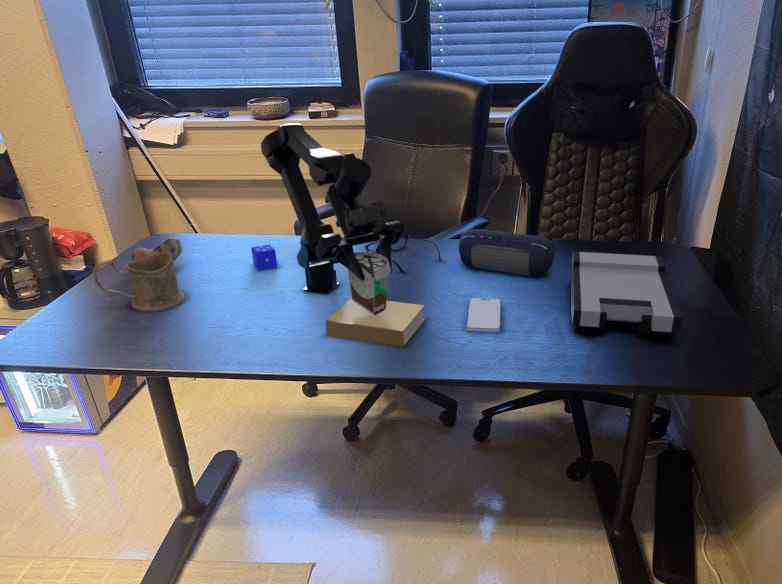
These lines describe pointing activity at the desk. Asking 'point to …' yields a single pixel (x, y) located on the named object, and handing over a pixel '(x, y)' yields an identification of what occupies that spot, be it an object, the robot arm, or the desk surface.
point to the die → (264, 257)
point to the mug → (150, 282)
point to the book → (376, 323)
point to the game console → (622, 293)
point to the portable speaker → (506, 252)
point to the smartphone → (484, 315)
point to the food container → (370, 282)
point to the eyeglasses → (401, 248)
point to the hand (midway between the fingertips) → (377, 276)
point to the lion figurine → (159, 250)
